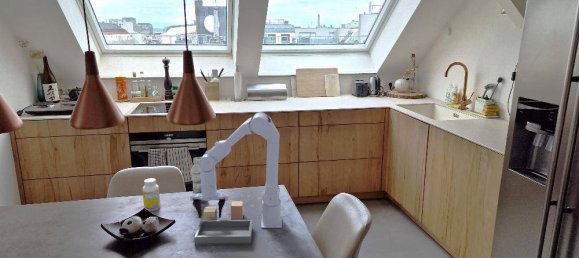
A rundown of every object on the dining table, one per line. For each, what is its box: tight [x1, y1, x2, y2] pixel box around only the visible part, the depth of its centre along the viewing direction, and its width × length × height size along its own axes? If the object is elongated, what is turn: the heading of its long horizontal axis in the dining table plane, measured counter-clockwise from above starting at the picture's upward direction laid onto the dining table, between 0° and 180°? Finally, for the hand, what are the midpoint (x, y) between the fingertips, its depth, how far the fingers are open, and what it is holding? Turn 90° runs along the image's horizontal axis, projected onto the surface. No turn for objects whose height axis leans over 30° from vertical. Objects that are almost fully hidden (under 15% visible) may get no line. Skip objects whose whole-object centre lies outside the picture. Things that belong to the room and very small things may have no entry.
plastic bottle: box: [190, 156, 206, 203], centre depth 178 cm, size 6×7×20 cm
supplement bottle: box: [142, 177, 161, 212], centre depth 171 cm, size 7×7×13 cm
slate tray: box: [193, 219, 254, 247], centre depth 149 cm, size 13×20×4 cm, turn 92°
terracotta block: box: [230, 200, 244, 220], centre depth 164 cm, size 4×4×6 cm
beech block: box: [202, 206, 218, 220], centre depth 159 cm, size 4×4×6 cm
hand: (210, 216), depth 159 cm, fingers open, 7 cm apart
